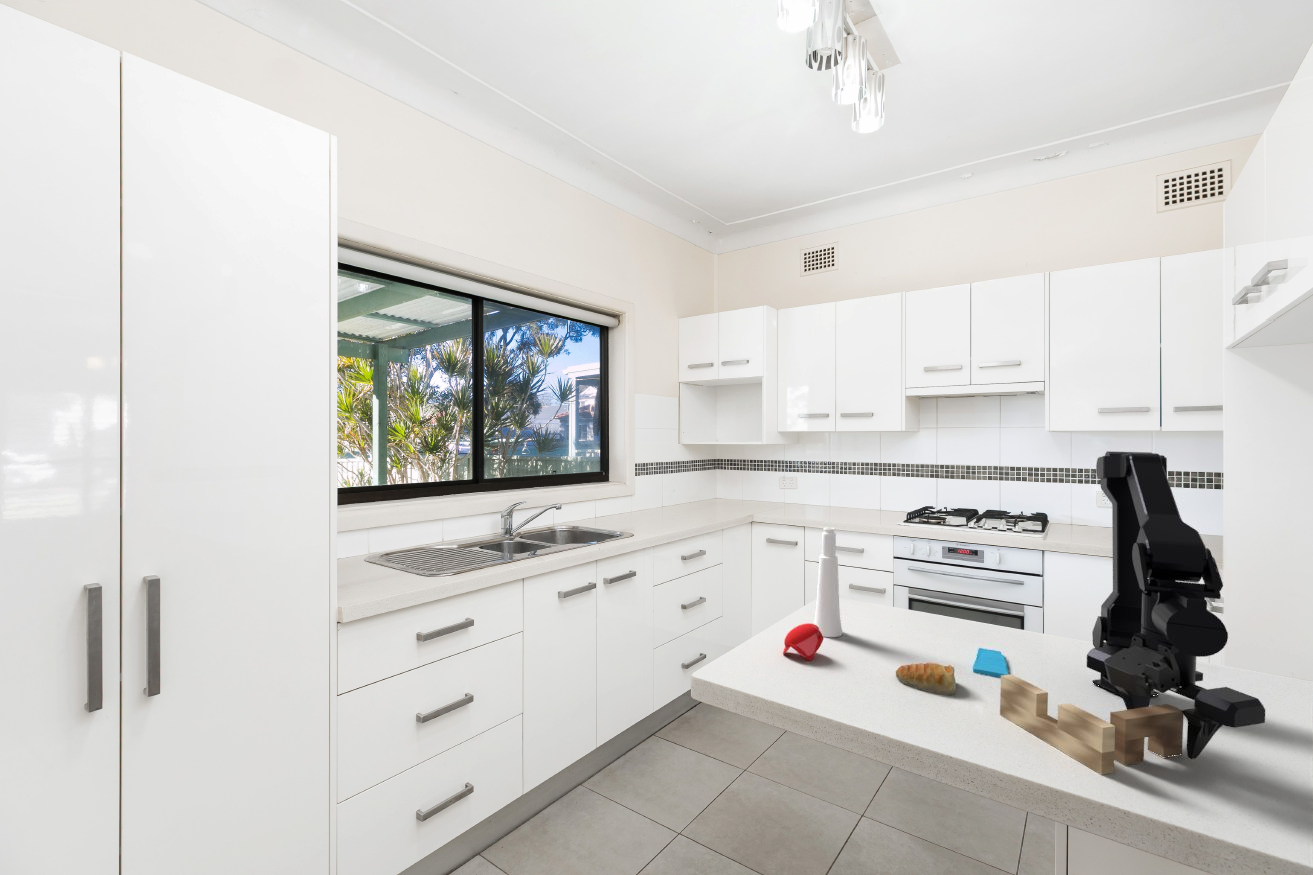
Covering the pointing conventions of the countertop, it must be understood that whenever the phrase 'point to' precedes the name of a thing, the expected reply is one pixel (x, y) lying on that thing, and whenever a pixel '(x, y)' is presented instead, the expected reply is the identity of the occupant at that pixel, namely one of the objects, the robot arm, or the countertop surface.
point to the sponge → (990, 663)
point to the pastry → (928, 677)
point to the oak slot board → (1059, 724)
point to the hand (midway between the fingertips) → (1164, 744)
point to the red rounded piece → (804, 640)
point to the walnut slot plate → (1147, 732)
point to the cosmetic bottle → (828, 588)
